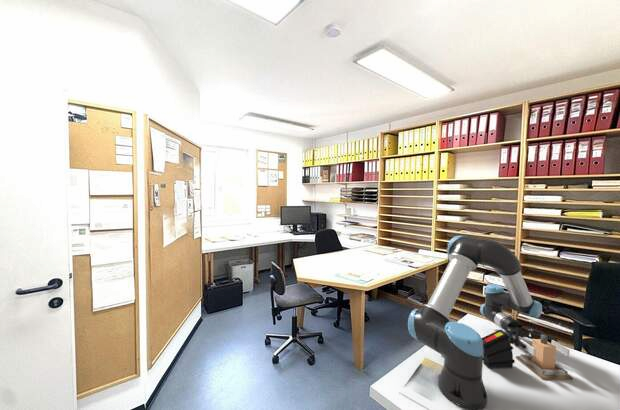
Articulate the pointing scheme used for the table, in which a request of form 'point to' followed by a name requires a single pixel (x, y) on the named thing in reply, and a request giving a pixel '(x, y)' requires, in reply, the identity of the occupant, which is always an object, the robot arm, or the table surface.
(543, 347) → the orange bottle
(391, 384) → the table surface
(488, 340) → the magazine
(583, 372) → the table surface
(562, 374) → the tray
